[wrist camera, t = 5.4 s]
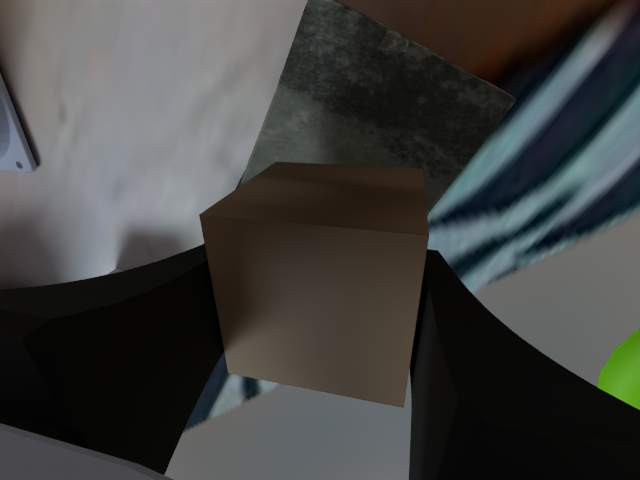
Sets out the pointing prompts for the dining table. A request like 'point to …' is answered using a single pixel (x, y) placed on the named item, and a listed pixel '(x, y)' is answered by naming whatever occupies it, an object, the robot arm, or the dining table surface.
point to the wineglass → (623, 372)
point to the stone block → (374, 102)
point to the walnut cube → (321, 276)
